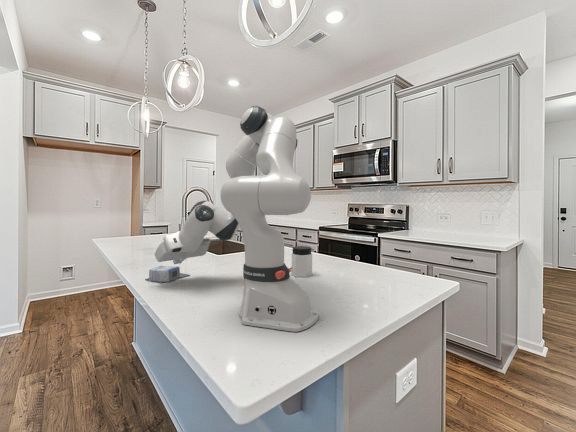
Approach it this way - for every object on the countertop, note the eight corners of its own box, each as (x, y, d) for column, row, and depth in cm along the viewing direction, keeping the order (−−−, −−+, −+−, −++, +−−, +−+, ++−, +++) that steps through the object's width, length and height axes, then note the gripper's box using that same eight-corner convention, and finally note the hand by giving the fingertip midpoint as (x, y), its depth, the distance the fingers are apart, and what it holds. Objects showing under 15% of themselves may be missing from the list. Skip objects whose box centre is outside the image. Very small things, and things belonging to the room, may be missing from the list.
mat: (190, 275, 126) (190, 274, 126) (162, 283, 114) (162, 282, 114) (173, 272, 131) (173, 271, 131) (145, 280, 119) (145, 279, 119)
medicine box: (168, 270, 114) (148, 269, 116) (168, 282, 115) (148, 280, 116) (180, 266, 122) (161, 265, 124) (180, 277, 122) (161, 275, 124)
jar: (300, 271, 135) (300, 245, 134) (315, 274, 130) (315, 247, 129) (287, 275, 128) (288, 247, 127) (303, 278, 123) (303, 249, 122)
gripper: (209, 232, 121) (197, 253, 128) (159, 236, 106) (148, 259, 113) (215, 244, 119) (202, 264, 126) (165, 250, 103) (154, 273, 111)
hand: (176, 262), depth 119 cm, fingers closed
